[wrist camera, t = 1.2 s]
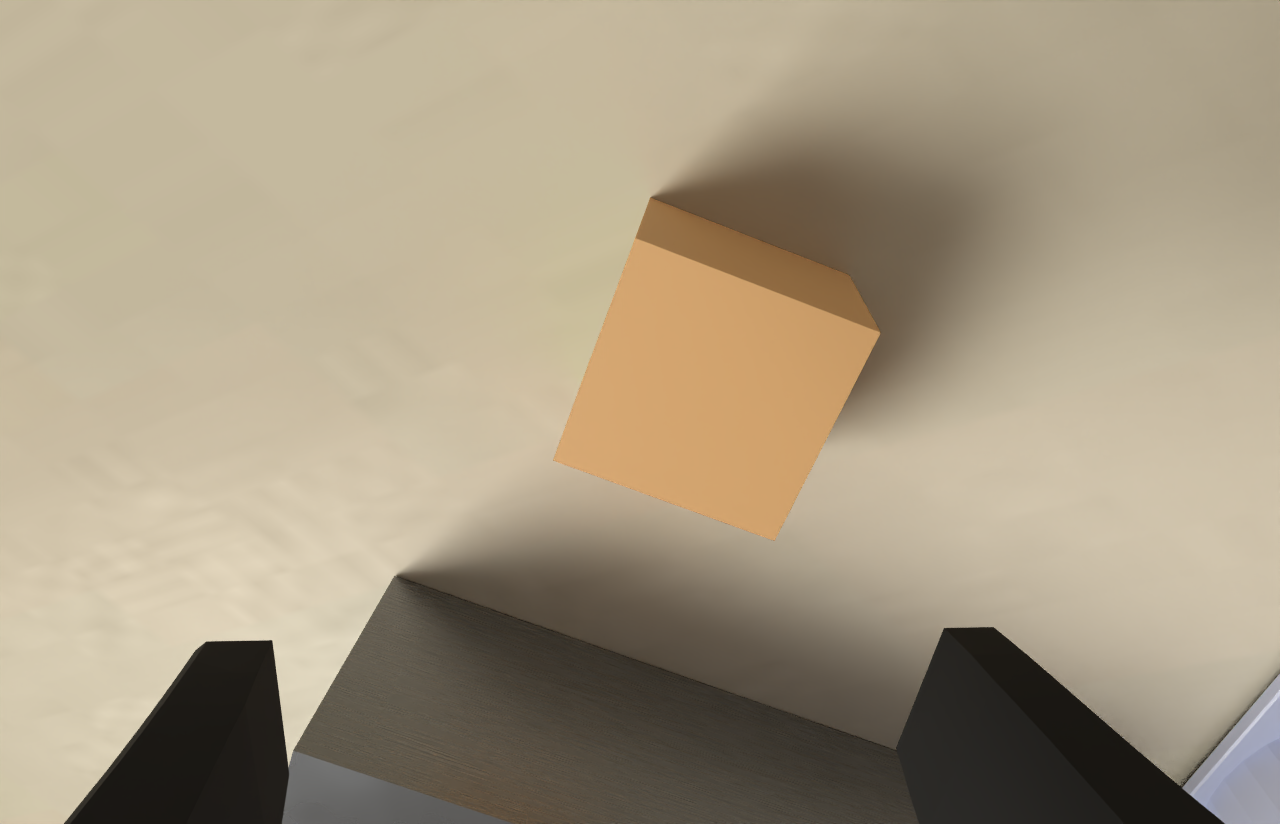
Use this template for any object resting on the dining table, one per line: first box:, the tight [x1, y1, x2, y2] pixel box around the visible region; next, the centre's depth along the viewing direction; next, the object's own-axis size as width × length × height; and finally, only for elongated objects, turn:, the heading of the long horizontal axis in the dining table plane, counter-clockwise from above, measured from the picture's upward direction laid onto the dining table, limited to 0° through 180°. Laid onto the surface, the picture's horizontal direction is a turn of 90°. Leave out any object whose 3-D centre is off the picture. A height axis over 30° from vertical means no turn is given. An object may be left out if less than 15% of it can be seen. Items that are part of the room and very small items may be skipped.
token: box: [553, 198, 881, 541], centre depth 18 cm, size 4×4×4 cm
